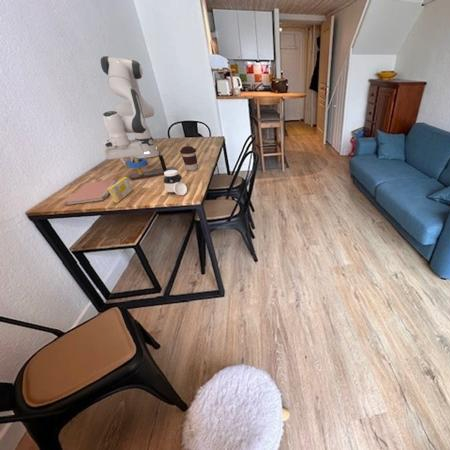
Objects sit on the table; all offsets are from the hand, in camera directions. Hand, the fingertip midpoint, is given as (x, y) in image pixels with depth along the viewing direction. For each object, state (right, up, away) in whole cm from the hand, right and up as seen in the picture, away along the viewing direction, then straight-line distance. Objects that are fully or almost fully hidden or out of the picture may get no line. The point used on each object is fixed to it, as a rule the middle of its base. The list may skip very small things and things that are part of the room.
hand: (128, 164), depth 155 cm
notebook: (-8, -20, -16) cm, 27 cm away
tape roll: (+4, 0, +3) cm, 5 cm away
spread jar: (+39, -20, -16) cm, 47 cm away
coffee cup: (+32, +1, +18) cm, 37 cm away
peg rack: (+10, -4, +10) cm, 15 cm away
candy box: (+11, -23, -20) cm, 32 cm away
